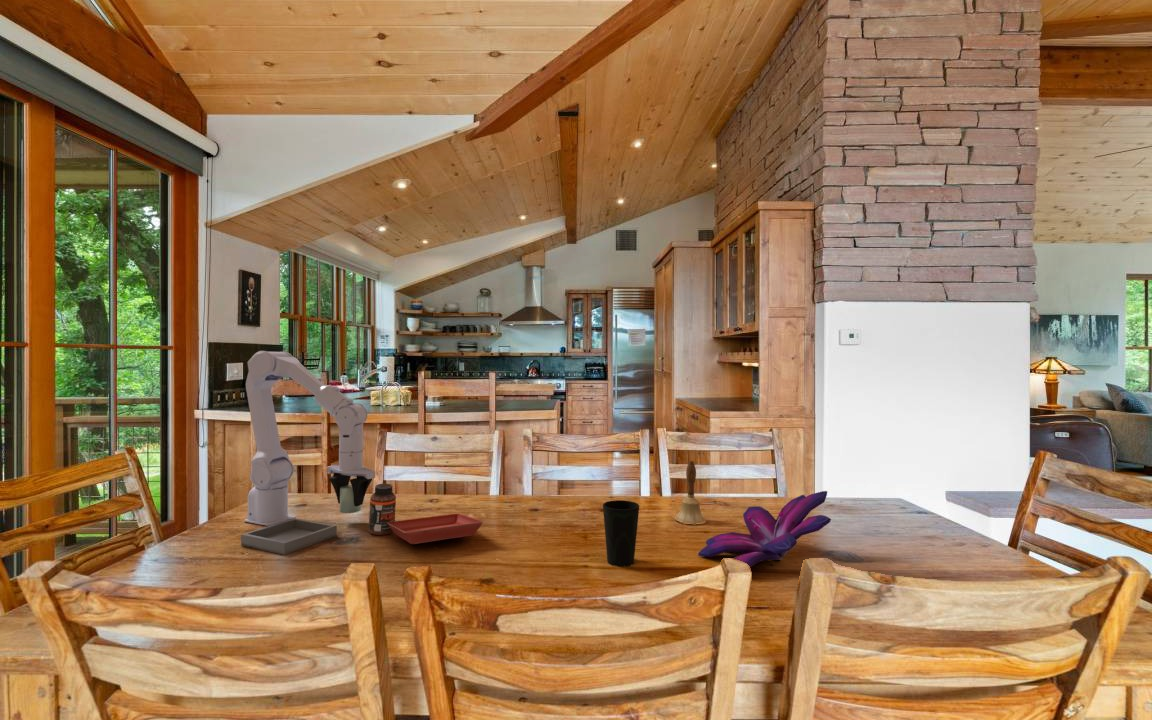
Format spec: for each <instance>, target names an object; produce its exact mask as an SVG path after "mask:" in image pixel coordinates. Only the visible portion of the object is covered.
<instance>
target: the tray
mask: <svg viewBox="0 0 1152 720" xmlns="http://www.w3.org/2000/svg"><path fill="white" fill-rule="evenodd" d="M337 531H338V526H337V524H336V525H335V524H328V523H323V522H318V521H313V520H312V521H311V520H308V519H302V518H297V517H296V518H294V519H291V520H287V521H284V522H280V523H277V524H274V525H270V526H265V527H262V528H258V529H255V530H251V531H248V532H245V533H242V534H240V546H241V545H242V547H245V546H246V547H245V548H250V547H251V548H250V549H255V550H260V551H265V552H270V553H275V554H278V555H284V556H285V555H288V554H291V553H293V552H296V551H299V550H302V549H304V548H307V547H310V546H313V545H316V544H319V543H321V542H324V541H327V540H329V539H333V538H336V537H337V536H338V532H337Z"/></svg>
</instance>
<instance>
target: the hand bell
mask: <svg viewBox="0 0 1152 720" xmlns="http://www.w3.org/2000/svg"><path fill="white" fill-rule="evenodd" d="M695 465H696V464H695V462H694V460H689V461H688V463H687V466H686V471H685V476H686V477H685V478H686V481H687V497H686V498H683V499H682V502H681V507H680V511H679V512H678V514H677V515H676V516H675V517H674V520H675V519H676V520H677V521H680V522H683V523H691V524H696V523H702V522H704V521H705V520H706V521H707V519H706V518H705V517H704V515H703V514H702V510H701V507H700V506H701V505H700V501H699V500H698V499H696V498H695V482H696V478H697V468H696V466H695Z"/></svg>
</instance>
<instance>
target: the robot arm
mask: <svg viewBox="0 0 1152 720" xmlns="http://www.w3.org/2000/svg"><path fill="white" fill-rule="evenodd" d="M247 369H248V373H247V377H246V379H245V389H246V390H245V391H246V396H247V400H248V407H249V413H250V419H251V424H252V430H253V437H254V440H255V441H254V442H255V448H256V453H255V454H254V456H253V458H252V459H251V461H250V464H251V465H250V466H251V469H250V470H251V471H250V473H249V479H250V482H251V484H252V485H253V487H252V488H251V489H250V490H249V492H248V494H247V515H246V516H247V518H245V519H244V522H247V523H250V524H256V525H260V526H261V525H262V526H265V527H268V526H271V525H275V524H278V523H281V522H285V521H288V520H291V519H295V518H296V519H297V517H296V516H295V515H290V514H289V483H290V479H292V476H293V475H294V472H295V467H294V463H293V462H292V460H290V457H289V453H288V451H286V449H284V448H283V447H282V446H281V440H280V434H279V429H278V424H277V417H276V411H275V406H274V401H273V394H272V388H273V387H274V386H275V384H276V383H277V382H278V381H279V380H281V379H282V378H289V379H290V378H291V379H292V380H293V381H294V382H296V383H297V384H299V385H300V386H302V388H304V389H306V390H307V391H309V392H310V393H311V394H313V395H314V400H315V403H316V404H318V405H319V406H320V407H321V408H323V409H324V410H325V411H326V413H328V414H330V415H331V416H332V417H334V422H335V423H336V425H337V426H338V433H339V434H338V442H339V443H338V447H339V448H338V465H336V464H335V465H329V466H327V467H326V468H327V469H326V474H328V475H331V474H333V475H332V476H329V477H328V481H329V482H330V484H331V485H332V488H333V489H334V493H335V495H336V499H337V503H338V504H339V505H340V487H342V486H347V485H352V488H353V495H354V506H360V505H361V506H362V505H363V504H364V501H365V497H366V493H367V491H368V488H369V486H370V484H371V483H372V481H373V479H374V478H376V470H375V469H369V468H368V467H366V466H365V465H364V423H365V422H366V421H367V418H368V410H367V409H366V408H365V406H364V405H363V404H362V403H360V402H357V403H354V400H353V398H349V397H347V396H346V395H345V394H343V393H342V392H341V391H340V389H341V388H340V387H339V386H336V385H335V386H334V385H332V384H328V385H325V384H324V383H323V382H321V381H320V380H319V379H318V378H317V377H316V376H315V375H314V374H313V373H312V372H311V371H309V370H308V369H307V368H306V367H305V366H304V365H303V364H301V362H300V361H299V358H296V357H295V356H293V355H292V354H291V353H289V352H287V351H267V350H259V351H257V352H255V353H254V354H253V355H252V356H251V358H249V360H248V361H247ZM351 477H355V478H352V479H351Z"/></svg>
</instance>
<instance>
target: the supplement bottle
mask: <svg viewBox="0 0 1152 720" xmlns="http://www.w3.org/2000/svg"><path fill="white" fill-rule="evenodd" d="M396 503H397V495H396V494H395V493H394V492H393V484H390V483H378V484H376V485H375V486H374V492H373V493H372V494H371V496H370V499H369V516H368V517H369V518H368V519H369V520H368V532H369V533H370V534H372V535H376V536H383V535H389V534H390V533H393V531H392V529H391V528H390V527H389V525H388V524H387V523H388V522H389V523H390V522H394V521H396V509H397V508H396V507H397V506H396Z"/></svg>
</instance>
